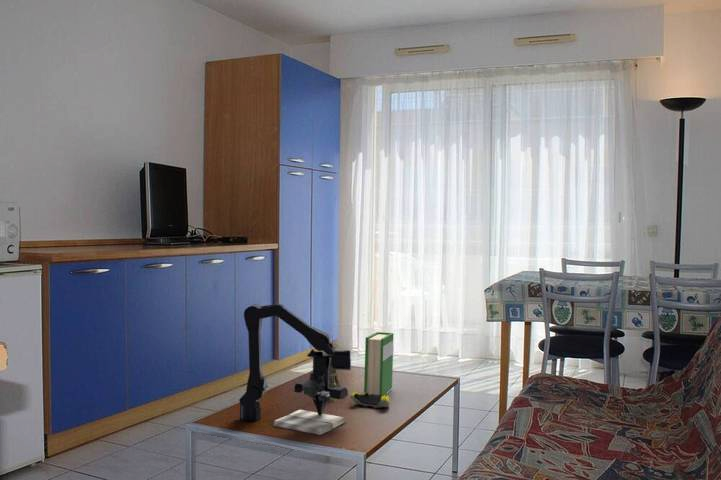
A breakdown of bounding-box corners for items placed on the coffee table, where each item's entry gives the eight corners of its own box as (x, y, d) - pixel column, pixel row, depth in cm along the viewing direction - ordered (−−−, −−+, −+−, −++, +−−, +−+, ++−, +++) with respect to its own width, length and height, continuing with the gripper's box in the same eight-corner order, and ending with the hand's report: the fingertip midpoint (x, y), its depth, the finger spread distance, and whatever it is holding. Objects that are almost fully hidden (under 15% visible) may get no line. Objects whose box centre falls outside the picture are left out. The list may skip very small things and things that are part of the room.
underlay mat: (272, 427, 218) (272, 425, 218) (300, 416, 233) (300, 414, 233) (320, 437, 209) (320, 435, 209) (347, 424, 224) (347, 423, 224)
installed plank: (274, 425, 218) (274, 420, 218) (287, 420, 225) (287, 415, 225) (320, 434, 210) (320, 429, 210) (332, 429, 216) (332, 423, 216)
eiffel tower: (349, 397, 263) (350, 335, 263) (334, 402, 254) (336, 338, 254) (327, 393, 269) (328, 332, 269) (312, 398, 260) (314, 335, 260)
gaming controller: (385, 412, 242) (395, 406, 251) (386, 397, 242) (395, 392, 251) (348, 407, 248) (359, 401, 257) (349, 392, 248) (359, 387, 257)
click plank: (288, 420, 225) (288, 414, 225) (299, 414, 231) (299, 409, 231) (333, 428, 217) (333, 423, 217) (343, 422, 223) (343, 417, 223)
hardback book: (381, 398, 262) (383, 338, 262) (363, 397, 264) (365, 337, 264) (391, 389, 279) (393, 333, 279) (375, 388, 281) (376, 332, 281)
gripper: (285, 370, 223) (284, 416, 223) (332, 377, 214) (331, 425, 214) (303, 364, 232) (302, 408, 233) (349, 371, 224) (348, 416, 224)
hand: (320, 414), depth 226 cm, fingers closed, pressing on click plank
